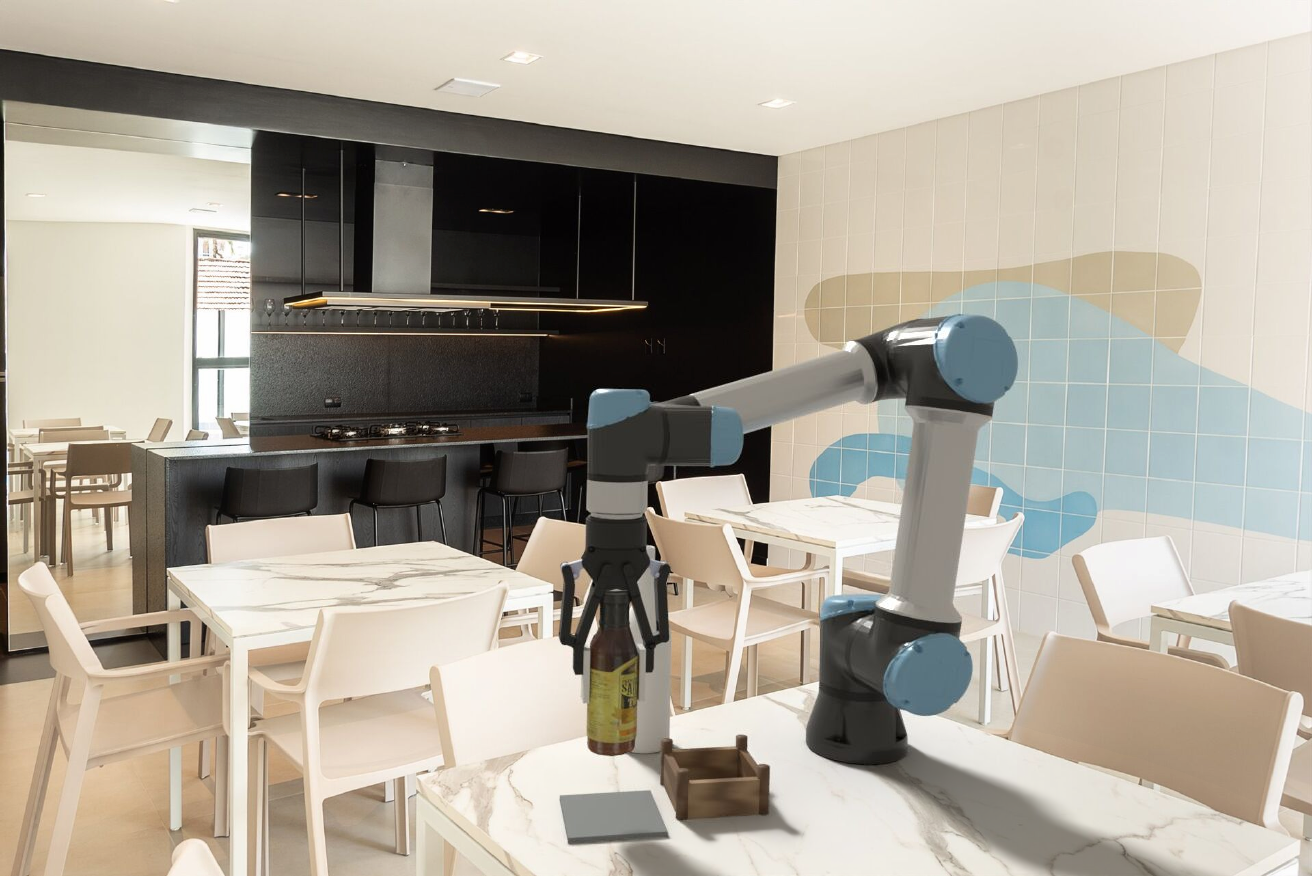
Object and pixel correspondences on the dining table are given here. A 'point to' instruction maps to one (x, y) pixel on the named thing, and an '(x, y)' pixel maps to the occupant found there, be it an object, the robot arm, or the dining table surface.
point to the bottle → (652, 676)
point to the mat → (611, 816)
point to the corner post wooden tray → (714, 781)
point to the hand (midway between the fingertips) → (612, 698)
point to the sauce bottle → (613, 679)
